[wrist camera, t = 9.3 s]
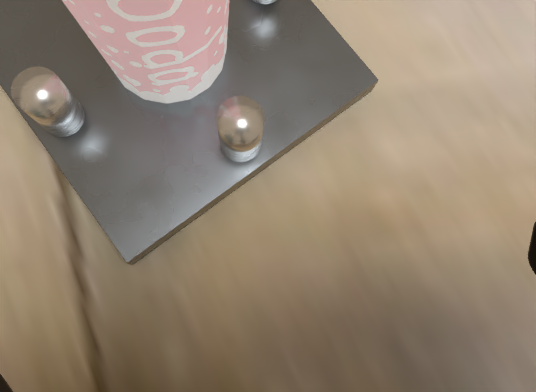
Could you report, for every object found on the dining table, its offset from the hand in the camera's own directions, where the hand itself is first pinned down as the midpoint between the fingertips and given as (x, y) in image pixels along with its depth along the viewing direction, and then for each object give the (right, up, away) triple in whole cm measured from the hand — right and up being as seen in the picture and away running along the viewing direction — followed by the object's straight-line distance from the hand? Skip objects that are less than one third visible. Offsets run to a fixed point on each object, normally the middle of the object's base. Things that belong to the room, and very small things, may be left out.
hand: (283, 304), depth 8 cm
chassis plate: (-4, +7, +12) cm, 15 cm away
